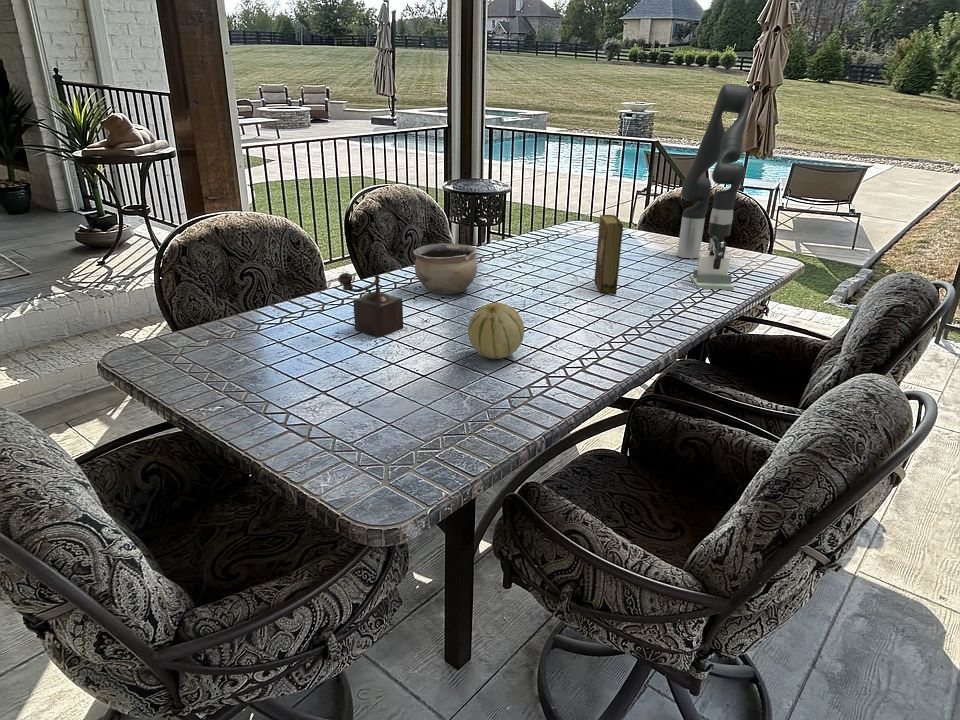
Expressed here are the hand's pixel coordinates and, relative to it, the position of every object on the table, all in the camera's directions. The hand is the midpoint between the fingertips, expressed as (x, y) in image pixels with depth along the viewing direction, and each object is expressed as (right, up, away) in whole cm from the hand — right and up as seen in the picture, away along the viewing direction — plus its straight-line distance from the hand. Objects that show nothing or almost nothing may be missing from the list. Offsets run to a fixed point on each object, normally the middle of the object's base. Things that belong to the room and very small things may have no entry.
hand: (713, 266), depth 235 cm
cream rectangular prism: (0, -5, +2) cm, 5 cm away
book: (-41, -9, -5) cm, 42 cm away
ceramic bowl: (-98, -11, -11) cm, 99 cm away
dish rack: (0, -6, +3) cm, 7 cm away
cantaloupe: (-82, -34, -65) cm, 110 cm away
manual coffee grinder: (-117, -26, -49) cm, 130 cm away
